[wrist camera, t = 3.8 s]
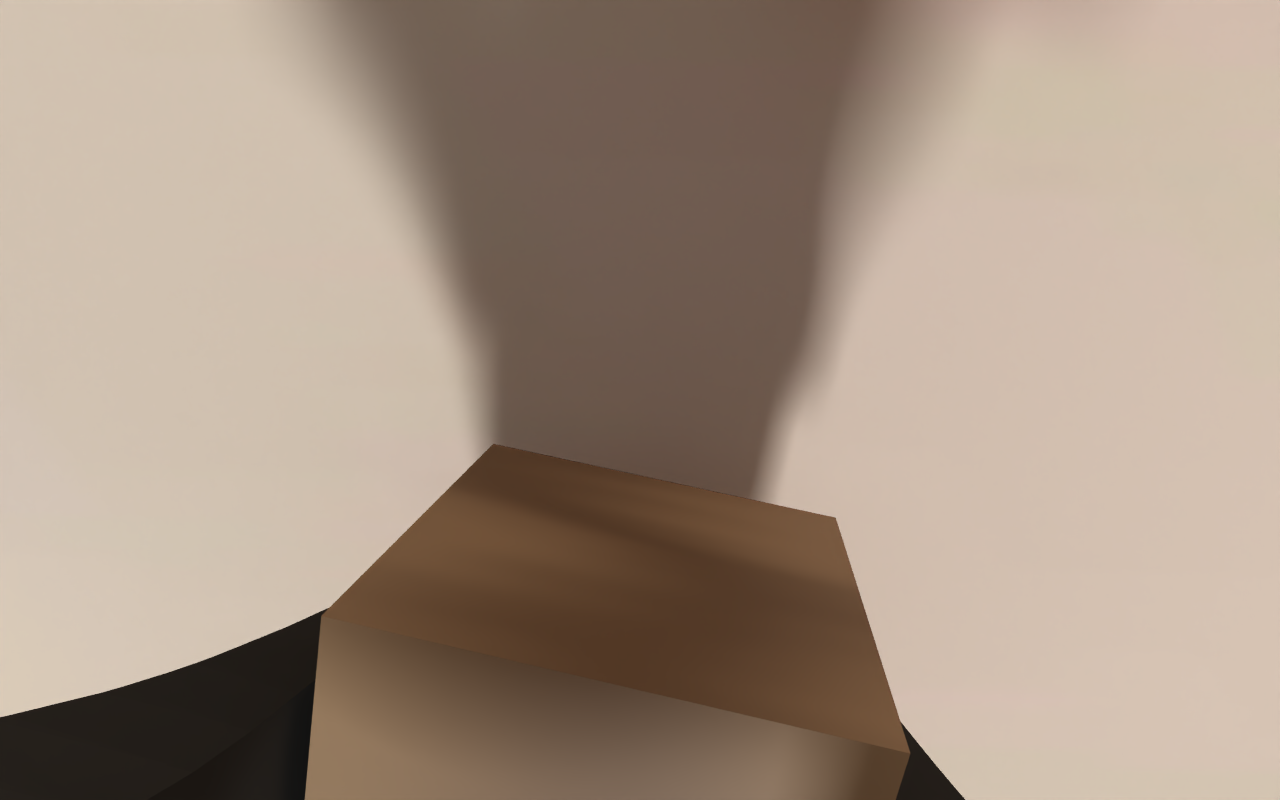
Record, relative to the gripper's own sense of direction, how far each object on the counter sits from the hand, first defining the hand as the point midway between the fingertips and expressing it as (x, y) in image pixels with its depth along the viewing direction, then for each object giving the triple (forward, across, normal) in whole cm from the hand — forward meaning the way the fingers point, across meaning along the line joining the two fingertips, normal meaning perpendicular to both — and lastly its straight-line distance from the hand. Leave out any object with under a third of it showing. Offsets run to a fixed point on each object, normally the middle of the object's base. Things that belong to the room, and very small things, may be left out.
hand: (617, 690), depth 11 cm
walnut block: (+2, 0, 0) cm, 2 cm away
